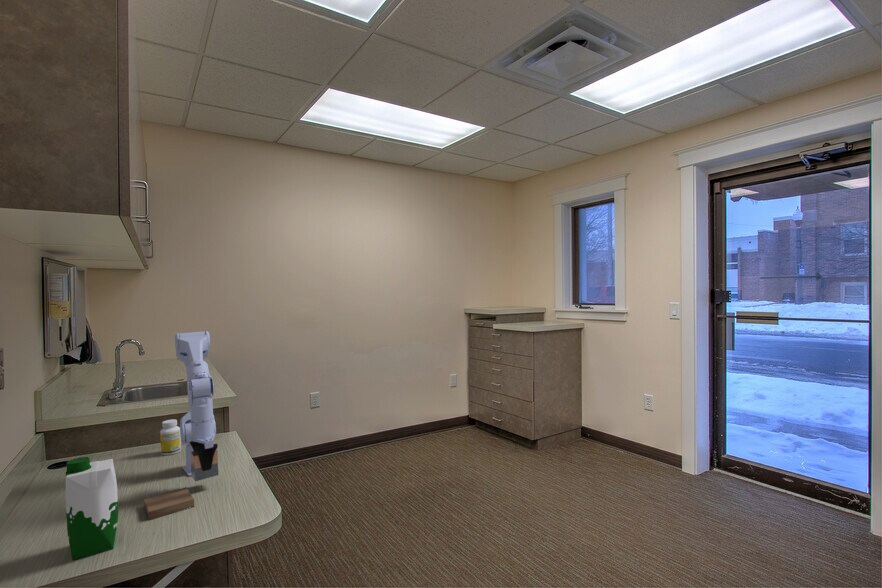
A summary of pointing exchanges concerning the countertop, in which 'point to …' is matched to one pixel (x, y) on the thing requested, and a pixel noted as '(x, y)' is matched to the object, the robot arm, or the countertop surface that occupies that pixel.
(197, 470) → the block
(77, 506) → the milk carton
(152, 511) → the walnut stand
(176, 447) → the supplement bottle
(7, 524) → the countertop surface
